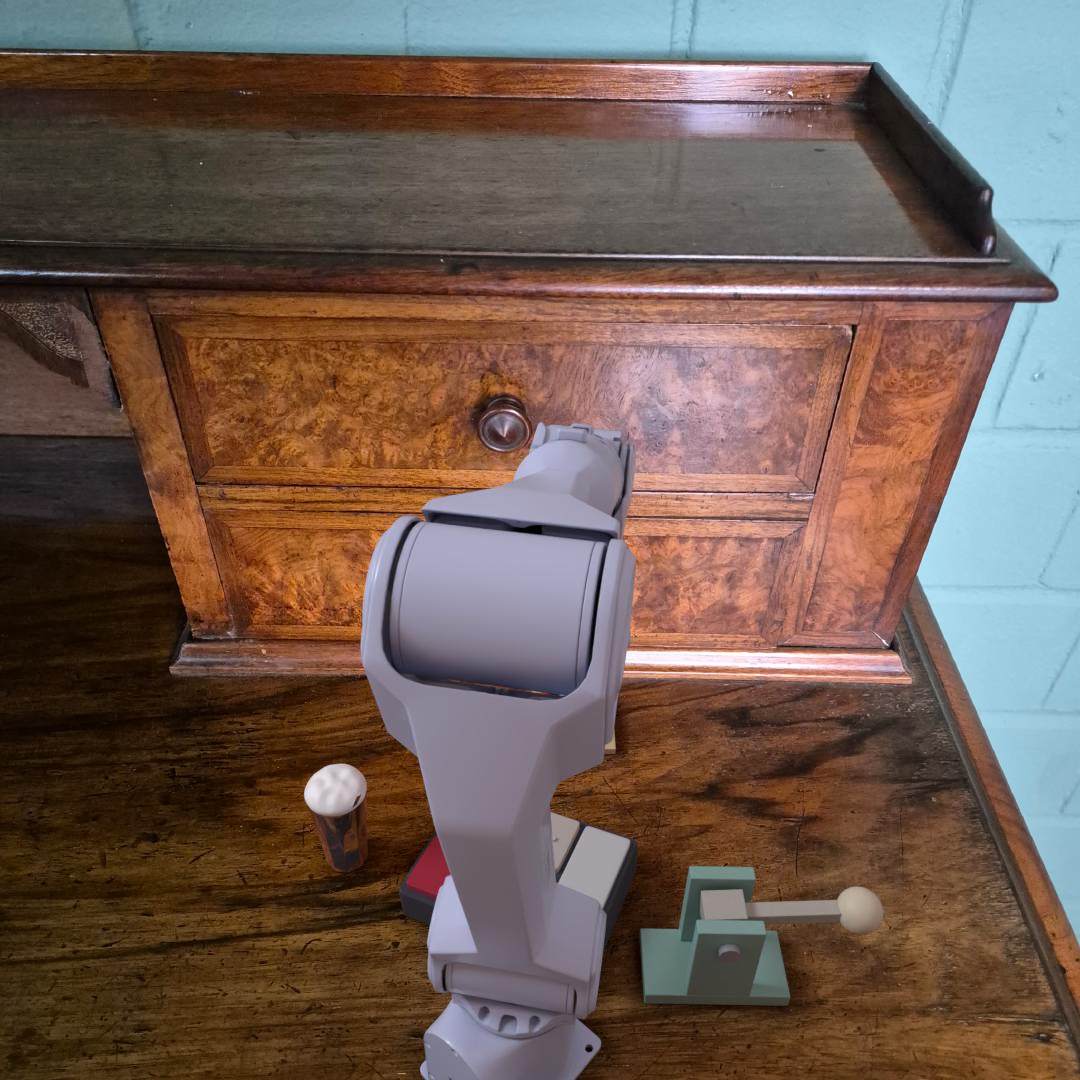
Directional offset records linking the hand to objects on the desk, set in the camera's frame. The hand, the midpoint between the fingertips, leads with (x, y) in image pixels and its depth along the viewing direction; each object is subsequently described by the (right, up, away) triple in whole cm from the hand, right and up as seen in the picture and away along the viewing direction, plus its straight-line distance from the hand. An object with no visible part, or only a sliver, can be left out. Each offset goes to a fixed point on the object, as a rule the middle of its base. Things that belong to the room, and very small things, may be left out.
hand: (571, 720), depth 74 cm
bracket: (+10, -17, -6) cm, 20 cm away
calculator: (-4, -13, -1) cm, 14 cm away
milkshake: (-17, -11, +1) cm, 21 cm away
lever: (+15, -12, -10) cm, 21 cm away
